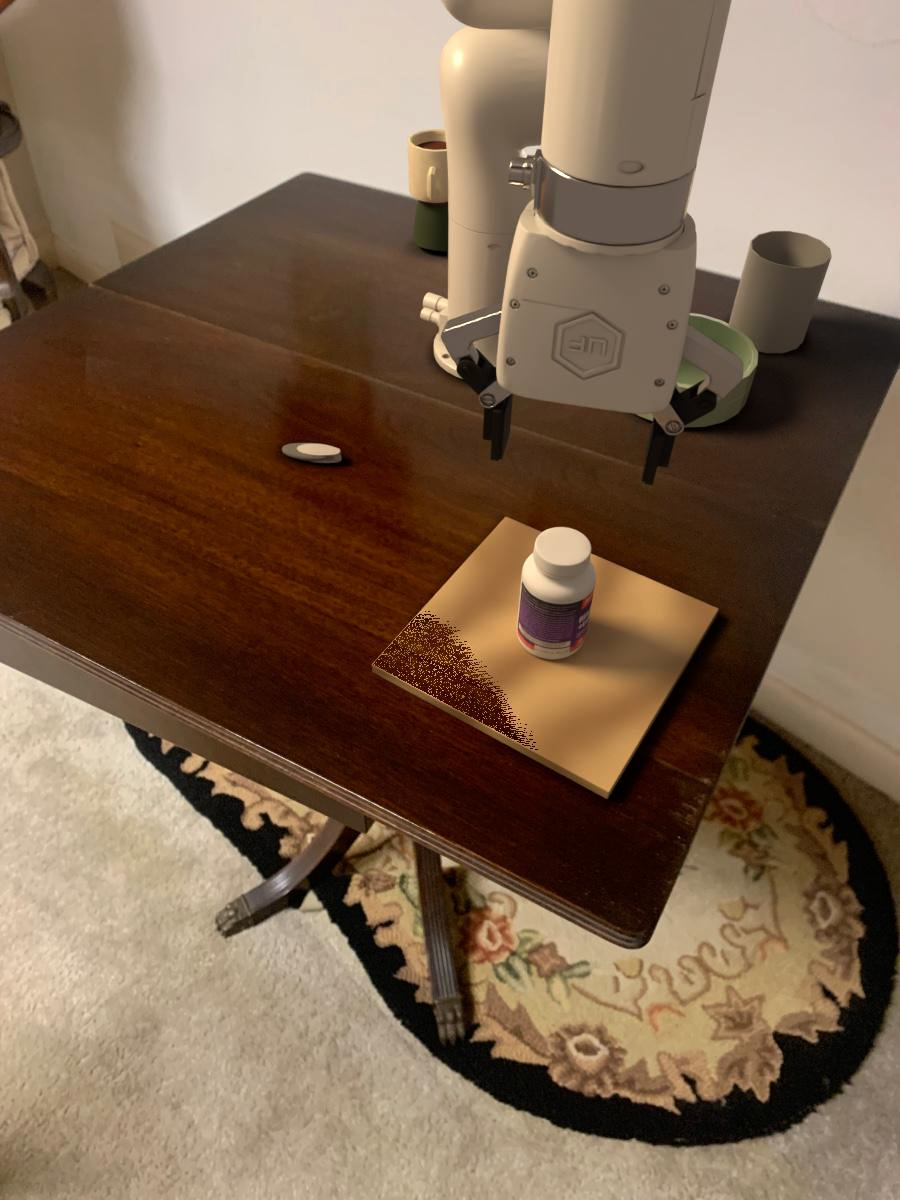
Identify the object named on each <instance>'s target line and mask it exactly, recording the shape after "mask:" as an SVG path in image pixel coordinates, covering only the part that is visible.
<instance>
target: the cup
mask: <svg viewBox="0 0 900 1200" xmlns="http://www.w3.org/2000/svg"><path fill="white" fill-rule="evenodd" d="M832 257H833V256H832V251H831V248H830V246H828V245H827V244H826V243H825V242H824V241H822V240H821V239H819V238H816V237H814V236H811V235H810V234H807V233H802V232H797V231H792V230H770V231H765V232H761V233H758V234H757V235H756V236H754V237H753V238H752V239H751V240H750V242H749V246H748V249H747V254H746V257H745V261H744V265H743V268H742V272H741V276H740V280H739V284H738V288H737V290H736V295H735V299H734V302H733V306H732V310H731V314H730V318H729V322H728V324H730V325H732V326H734V327H736V328H737V329H739V330H741V331H742V332H743V333H744V334H745V335H746V336H747V337H748V338H750V339H751V340H752V342H753V344H754V346H755V348H756V349H757V351H758V352H760V353H764V354H785V353H788V352H791V351H794V350H797V349H798V348H799V347H800V346H801V345H802V344H803V342H804V341H805V337H806V334H807V331H808V328H809V326H810V322H811V319H812V316H813V313H814V311H815V307H816V304H817V301H818V298H819V295H820V292H821V289H822V287H823V284H824V281H825V277H826V275H827V272H828V270H829V267H830V263H831V260H832Z"/></svg>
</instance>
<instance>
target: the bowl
mask: <svg viewBox="0 0 900 1200" xmlns="http://www.w3.org/2000/svg"><path fill="white" fill-rule="evenodd" d="M688 325H690V326H691V327H693V328H694V329H696V330H697V331H699V332H700V333H702V334H703V335H705V336H707V337H708V338H710V339H711V340H713V341H714V342H716V343H717V344H719V345H720V346H722V347H723V348H725V349H726V350H728V351H729V352H731V353H732V354H734V355H735V356H737V357H739V358H740V359H741V360H742V361H743V379H742V380H741V382H740V383H739V384H738V385H737V386H736V387H734V388H733V389H732V390H731V391H730V392H729V393H728V394H727V395H726V396H725V397H724V398H722V399H721V400H720V401H719V402H718V403H717V405H716V408H715V409H714V410H713V411H711V412H710V413H708V414H706V415H704V416H702V417H700V418H698V419H697V420H695V421H693V422H691V423H689V424H687V425H685V426H684V428H706V427H710V426H714V425H717V424H721V423H725V422H726V421H728V420H730V419H732V418H733V417H736V416H737V415H738V414H739V413H740V412H741V411H742V409H743V407H744V406H745V405H746V404H747V400H748V397H749V394H750V391H751V387H752V384H753V380H754V379H755V378H754V377H755V374H756V371H757V368H758V365H759V364H758V363H759V351H757V349H756V348H755V346H754V344H753V342H752V340H751V339H750V338H748V337H747V336H746V335H745V334H744V333H743V332H742V331H741V330H739V329H737V328H736V327H734V326H732V325H730V324H729V322H726V321H724V320H721V319H719V318H715V317H712V316H709V315H706V314H701V313H695V312H690V316H689V321H688ZM707 376H708V374H707V373H705V372H704V371H702V370H701V369H699V368H697V367H696V366H694V365H693V364H691V363H690V362H688V361H687V360H685V359H684V358H682V359H681V364H680V368H679V372H678V377H677V381H676V383H677V384H678V386H679V387H680V389H681V390H682V392H683V391H684V390H686V389H688V388H690V387H692V386H693V385H695V384H697V383H699V382H700V381H703V380H705V379H706V378H707ZM635 415H636V416H637V417H640V418H643V419H645V420H648V421H651V422H653V417H654V416H653V415H652V413H650V414H635Z"/></svg>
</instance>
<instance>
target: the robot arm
mask: <svg viewBox="0 0 900 1200" xmlns="http://www.w3.org/2000/svg"><path fill="white" fill-rule="evenodd" d="M732 1H733V0H440V2H441V3H442V5H443V7H444V8H445V10H446V11H447V12H448V13H449V14H450V15H451V16H452V18H453V19H455V20H456V21H457V22H459V23H461V24H463V25H465V27H462V28H461V29H459V30H458V31H456V32H454V33H453V34H452V35H451V36H450V37H449V38H448V39H447V41H446V42H445V44H444V46H443V48H442V51H441V53H440V57H439V64H438V88H439V97H440V98H439V99H440V103H441V104H440V105H441V112H442V120H443V125H444V126H443V127H444V128H443V129H445V136H446V147H447V161H448V213H449V225H448V251H447V258H448V259H447V262H448V263H447V298H445V296H442V295H439V294H436V293H433V292H430V291H429V292H427V293H426V294H425V295H424V297H423V300H422V309H421V310H420V314H419V317H420V320H422V321H424V322H427V323H430V324H435V325H436V326H437V328H438V332H437V333H436V335H435V337H434V339H433V356H434V359H435V361H436V363H437V364H438V365H439V367H440V368H442V369H443V370H444V371H446V373H448V374H450V375H452V376H453V377H456V378H458V379H461V380H463V381H464V383H466V384H467V385H468V386H469V387H470V388H471V389H472V390H473V392H474V393H475V394H476V395H477V396H478V398H477V400H478V404H480V406H481V407H483V426H482V440H484V441H490V443H491V445H490V461H493V462H494V461H495V462H499V461H500V460H503V458H504V455H505V451H506V448H507V444H508V441H509V438H510V434H511V425H512V424H511V423H512V413H513V411H512V410H513V397H514V395H515V396H517V397H521V398H525V399H530V400H536V401H543V402H548V403H549V402H550V403H555V404H563V405H569V406H575V407H584V408H590V409H598V410H603V411H611V412H617V413H627V414H634V415H636V414H650V413H652V415H653V416H654V417H653V421H651V426H650V431H649V436H648V440H647V444H646V449H645V454H644V460H643V467H642V474H641V475H642V476H641V482H644V485H648V486H654V481H655V477H656V474H657V469H658V467H659V468H666V469H668V468H669V465H670V460H671V457H672V453H673V449H674V445H675V441H676V437H677V436H678V435H680V434H682V433H683V431H684V429H685V427H684V426H685V425H687V424H689V423H691V422H693V421H695V420H697V419H698V418H700V417H702V416H704V415H706V414H708V413H710V412H711V411H713V410H714V409H715V408H716V405H717V403H718V402H719V401H720V400H721V399H722V398H724V397H725V396H726V395H727V394H728V393H729V392H730V391H731V390H732V389H733V388H734V387H736V386H737V385H738V384H739V383H740V382H741V380H742V379H743V361H742V360H741V359H740V358H739V357H737V356H735V355H734V354H732V353H731V352H729V351H728V350H726V349H725V348H723V347H722V346H720V345H719V344H717V343H716V342H714V341H713V340H711V339H710V338H708V337H707V336H705V335H703V334H702V333H700V332H699V331H697V330H696V329H694V328H693V327H691V326H690V325H688V321H689V316H690V313H691V309H692V304H693V298H694V291H695V290H694V289H695V281H696V269H697V257H698V256H697V253H698V252H697V251H698V250H697V249H698V242H697V241H698V239H697V230H696V228H697V226H696V222H695V220H694V218H693V217H692V215H691V214H690V213H688V207H689V203H690V199H691V194H692V189H693V184H694V180H695V174H696V171H697V167H698V166H697V164H698V160H699V159H698V158H699V154H700V150H701V144H702V140H703V135H704V130H705V127H706V121H707V117H708V112H709V107H710V104H711V103H710V102H711V98H712V93H713V89H714V84H715V80H716V74H717V71H718V67H719V61H720V56H721V52H722V47H723V42H724V38H725V33H726V29H727V24H728V20H729V14H730V10H731V5H732ZM529 147H540V148H537V149H536V150H535V153H534V154H526V152H525V151H524V149H526V148H529ZM682 358H684V359H685V360H687V361H688V362H690V363H691V364H693V365H694V366H696V367H697V368H699V369H701V370H702V371H704V372H705V373H707V374H708V376H707V378H706V379H705V380H703V381H700V382H699V383H697V384H695V385H693V386H692V387H690V388H688V389H686V390H684V391H683V392H682V390H681V389H680V387H679V386H678V384H677V383H676V381H677V377H678V372H679V368H680V364H681V359H682Z"/></svg>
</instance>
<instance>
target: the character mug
mask: <svg viewBox="0 0 900 1200" xmlns="http://www.w3.org/2000/svg"><path fill="white" fill-rule="evenodd" d="M407 157H408V158H407V164H408V165H407V168H408V190H409V195H410V196H411V197H412V198H414V200H417V203H416V206H415V216H414V223H413V234H412V242H413V243H414V245H416V246H417V247H420V248H421V249H427V250H431V251H439V252H448V225H449V213H448V161H447V147H446V136H445V128H428V129H422V130H418V131H416V132H414V133H411V134H410V135H409V136H408V137H407Z"/></svg>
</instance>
